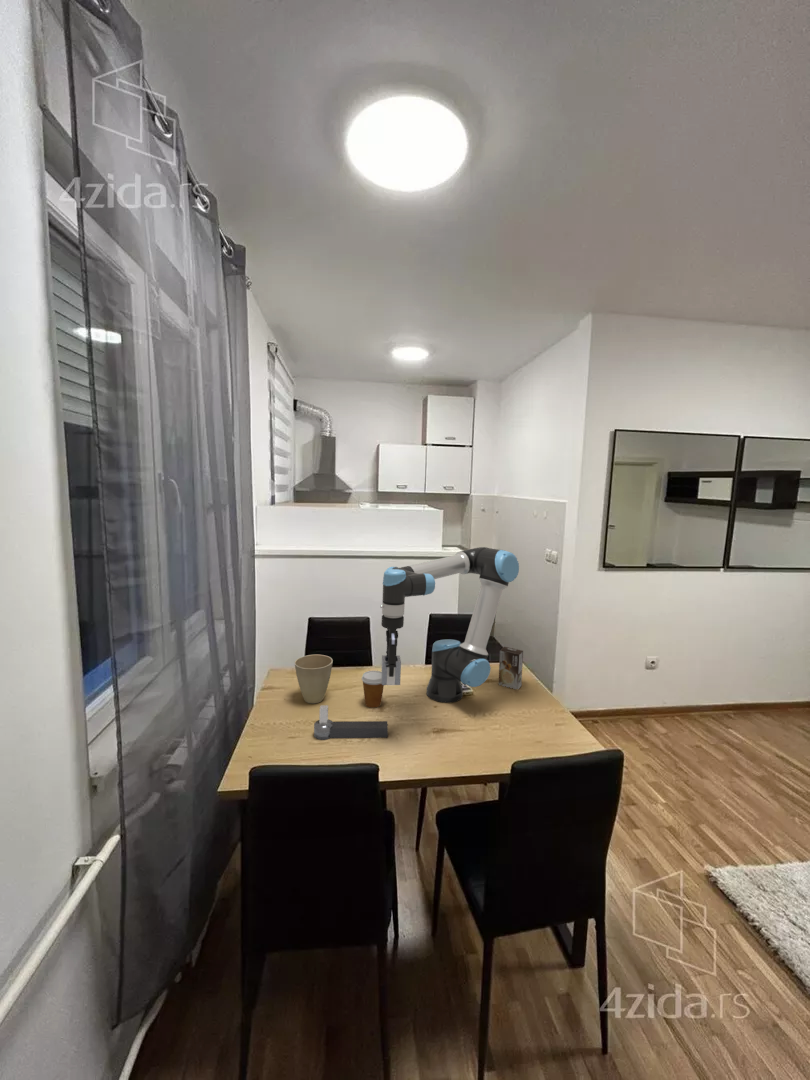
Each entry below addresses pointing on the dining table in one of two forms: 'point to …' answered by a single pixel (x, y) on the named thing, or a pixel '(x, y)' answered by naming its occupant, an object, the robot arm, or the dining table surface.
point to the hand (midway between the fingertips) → (390, 680)
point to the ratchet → (347, 728)
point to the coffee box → (510, 667)
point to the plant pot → (313, 676)
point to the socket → (384, 670)
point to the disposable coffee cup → (372, 688)
